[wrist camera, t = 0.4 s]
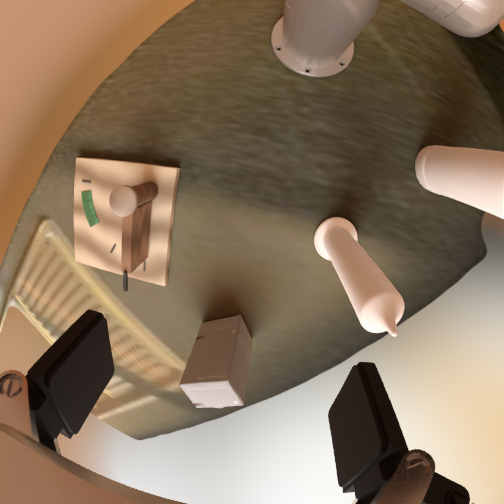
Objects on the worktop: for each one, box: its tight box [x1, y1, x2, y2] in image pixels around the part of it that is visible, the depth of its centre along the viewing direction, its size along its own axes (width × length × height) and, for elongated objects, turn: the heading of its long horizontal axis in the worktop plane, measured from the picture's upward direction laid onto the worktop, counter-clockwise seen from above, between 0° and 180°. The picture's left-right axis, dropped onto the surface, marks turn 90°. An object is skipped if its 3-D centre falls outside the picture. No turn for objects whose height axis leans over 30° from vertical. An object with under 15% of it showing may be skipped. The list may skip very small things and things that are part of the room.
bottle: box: [415, 145, 504, 219], centre depth 23 cm, size 8×8×30 cm
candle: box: [314, 217, 404, 337], centre depth 31 cm, size 7×7×25 cm
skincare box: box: [179, 315, 252, 408], centre depth 43 cm, size 8×7×16 cm
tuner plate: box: [74, 157, 180, 286], centre depth 43 cm, size 20×20×2 cm
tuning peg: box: [109, 181, 158, 292], centre depth 38 cm, size 16×4×9 cm, turn 169°
